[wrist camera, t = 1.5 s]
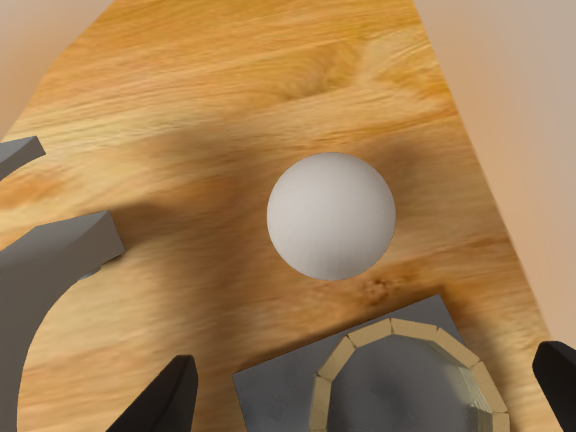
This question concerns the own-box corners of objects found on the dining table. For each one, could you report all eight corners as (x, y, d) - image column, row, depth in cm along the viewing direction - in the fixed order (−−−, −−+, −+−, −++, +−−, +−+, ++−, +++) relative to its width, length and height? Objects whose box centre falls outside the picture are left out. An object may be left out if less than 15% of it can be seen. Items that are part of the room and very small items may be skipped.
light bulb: (307, 196, 24) (312, 103, 15) (382, 240, 23) (440, 169, 13) (259, 265, 22) (229, 211, 13) (336, 317, 21) (365, 298, 12)
